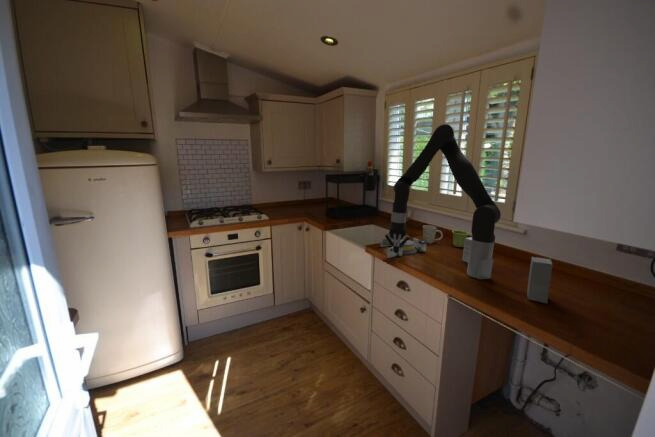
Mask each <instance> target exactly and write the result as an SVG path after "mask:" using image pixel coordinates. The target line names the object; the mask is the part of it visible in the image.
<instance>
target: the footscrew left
mask: <svg viewBox="0 0 655 437" xmlns="http://www.w3.org/2000/svg"><path fill="white" fill-rule="evenodd" d="M396 245H397V243H396ZM403 247H404V245H403V246H399V252H397V253H394V252H393V247H392V246H390V247H388V248H387V258H389V259H391V258H394V257H402V256H403Z"/></svg>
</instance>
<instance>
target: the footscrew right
mask: <svg viewBox="0 0 655 437" xmlns="http://www.w3.org/2000/svg"><path fill="white" fill-rule="evenodd" d="M412 241H413V242H414V243H415V245H414V248H416V249H417V252H420V253H425V252H426V251H427V244H428V243H427V241H425V240H423V239H418V238H416V237H413V238H412Z"/></svg>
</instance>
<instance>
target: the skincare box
mask: <svg viewBox="0 0 655 437" xmlns="http://www.w3.org/2000/svg"><path fill="white" fill-rule="evenodd" d="M530 259H531V260H530V266H529V274H528V282H527V289H526V291H527V292H526V294H527V300H530V301H534V302H540V303H543V304H548V301H549V300H548V299H549V294H550V285H551V278H552V271H553V266H554V265H553V264H554V263H553V262H552V259H551V258H543V257H537V256H531V258H530Z"/></svg>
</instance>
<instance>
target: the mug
mask: <svg viewBox="0 0 655 437" xmlns="http://www.w3.org/2000/svg"><path fill="white" fill-rule="evenodd" d="M436 233H439V234H440V237H439V238H435V237H436ZM443 237H444V234H443V231H442V230H440V229H438V227H437V226H434V225H429V224H427V225H422V240H425V241H427V244H434V242H435V241H440V240H442V239H443Z"/></svg>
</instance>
